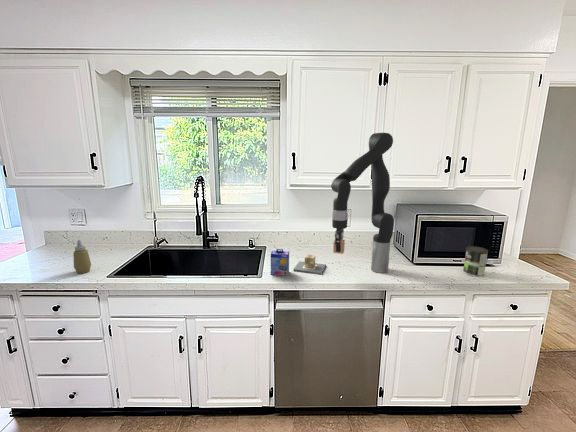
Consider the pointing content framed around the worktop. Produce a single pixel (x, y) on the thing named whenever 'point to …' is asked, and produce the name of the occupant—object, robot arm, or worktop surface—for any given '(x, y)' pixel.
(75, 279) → the worktop surface
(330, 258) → the worktop surface
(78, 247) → the squeeze bottle
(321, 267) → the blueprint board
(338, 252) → the terracotta block
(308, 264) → the maple block
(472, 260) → the coffee can
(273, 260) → the ink cartridge box
